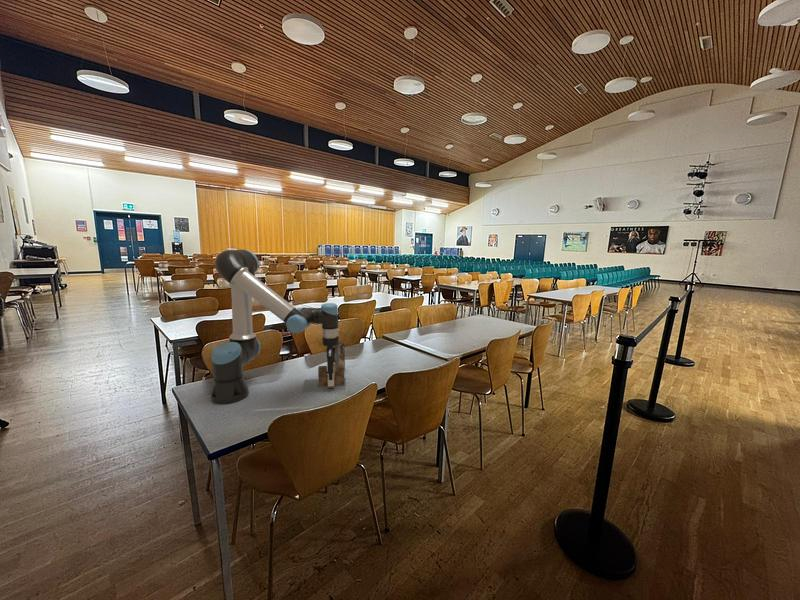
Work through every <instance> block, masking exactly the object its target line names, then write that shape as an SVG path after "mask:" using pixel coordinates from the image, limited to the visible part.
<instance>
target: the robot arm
mask: <svg viewBox="0 0 800 600" xmlns="http://www.w3.org/2000/svg"><path fill="white" fill-rule="evenodd" d="M259 263H260V262H259V258H258V257H257V255H256V254H255V253H254V252H252V251H251V250H248V249H231V250H230V249H229V250H227V249H226V250H224V251H221V252H219V254H217V256H216V257H215V260H214V266H215V267H214V268H215V270H216V272H217V273H218V275H219V276H220V277H221V278H222V279H223V280H224V281H226V282H227V283H229V285H230V290H231V295H230V296H231V310H232V311H231V314H232V315H231V316H232V317H231V321H232V322H231V323H232V333H231V334H230V336H229V337H228V339H229V340H228V342H223V343H219V344H217V345H216V346H214V348H212V351H211V356H210V358H211V359H210V360H211V365H212V374H213V375H212V376H213V385H212V388H211V392H210V400H211V402H212V403H213V402H214V403H213V404H219V405H223V404H224V405H225V404H227V405H228V404H233V403H237V402H239V401H241V400H244V399H246V398H247V397H248V396H249V394H250V392H249V391H250V390H249V386H248V385H247V382H246V380H245V379H244V370H243V367H244V366H246V365H247V364H249V363H250V362H252V361H254V359H256V358H257V356H258V355H259V354H260V353H261V343H260V341H259V340H258V338H257V334H256V333H254V331H253V328H254V327H253V300H255V301H256V302H257V303H259V304H260V305H261V306H262V307H264V308H265V309H266V310H268V311H269V312H270V313H272V314H273V315H275V317H277V318H279V319H280V320H281V321H282V322H283V323H285V324H286V325H285V326H286V328H287V330H288V331H289V332H290V333H293V334H299V333H301V332H304V331H305V330H306V329H307V328H308V327H309V326H311V325H321V336H322V337H321V340H322V346H324V347H326V349H325V350H326V351H325V352H326V362H327V363H326V364H327V365H326V366H327V372H326V374H327V375H328V386H334V371H333V362H335V363H336V361H335V347H334V346H336V345H338V344H339V343H340V341H339V339H340V338H339V332H340V331H341V330H340V329H339V310H338V309H339V306H338V304H336V303H332V302H328V303H327V302H326V303H322V304H321V307H306V306H305V307H297V308H296V307H295V306H293V305H292V304H290V302H289V301H287V300H286V299H284V298H283V297H282V296H281V295H280V294H278V293H277V292H275V291H274V290H273V289H272V288H271V287H269V286H268V285H267V284H265V283H264V282H263V281H262V280H260V279H259V278H257V277H256V276H255V275H256V272H257V271H258V269H259V265H260V264H259ZM327 347H328V348H327Z"/></svg>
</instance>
